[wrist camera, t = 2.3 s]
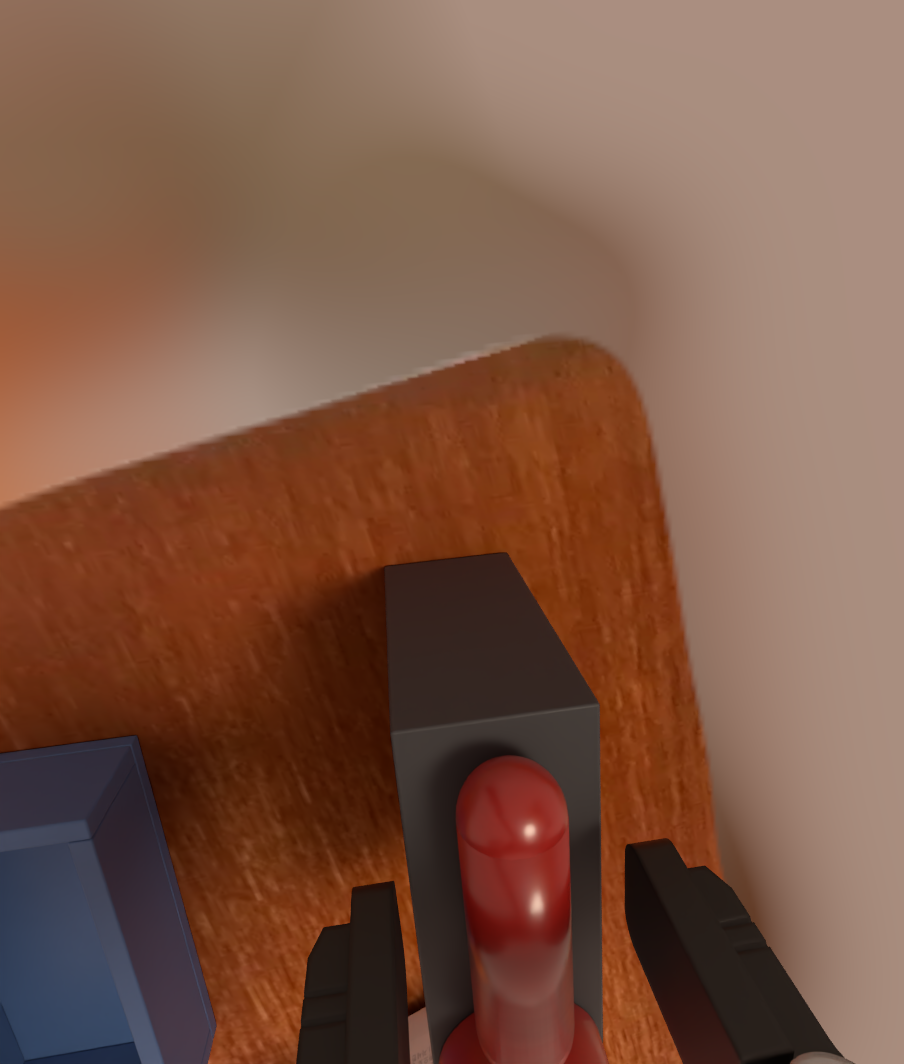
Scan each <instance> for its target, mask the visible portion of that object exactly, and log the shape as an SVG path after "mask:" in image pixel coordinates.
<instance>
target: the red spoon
mask: <svg viewBox="0 0 904 1064" xmlns="http://www.w3.org/2000/svg"><path fill="white" fill-rule="evenodd" d="M456 829H457V839H458V849H459V859H460V870H461V880H462V890H463V901H464V911H465V921H466V931H467V942H468V952H469V962H470V973H471V983H472V993H473V1003H474V1012H473V1013H472V1014H471V1015H469V1016H468V1017H466V1018H465V1019H464V1020H463V1021H462V1022H461V1023H459V1024H458V1025H457V1027H456V1028H455V1029H454V1030H453V1031H452V1032H451V1034H450V1035H449V1037H448V1038H447V1040H446V1042H445V1044H444V1046H443V1048H442V1051H441V1054H440V1059H439V1064H609V1062H608V1059H607V1056H606V1053H605V1050H604V1046H603V1043H602V1040H601V1037H600V1034H599V1031H598V1028H597V1026H596V1024H595V1022H594V1021H593V1019H592V1018H591V1017H590V1015H589V1014H588V1013H587V1012H586V1011H585V1010H584V1009H583V1008H581V1007H580V1006H578V1005H577V1004H575V1003H574V985H573V951H572V917H571V883H570V849H569V816H568V809H567V803H566V800H565V797H564V794H563V792H562V789H561V787H560V786H559V784H558V782H557V781H556V780H555V778H554V777H553V776H552V775H551V773H550V772H549V771H548V770H546V769H545V768H544V767H542V766H541V765H540V764H538V763H537V762H535V761H533V760H531V759H528V758H525V757H521V756H515V755H504V756H499V757H495V758H492V759H489V760H487V761H485V762H483V763H481V764H480V765H479V766H478V767H476V768H475V769H474V770H473V771H472V772H471V773H470V774H469V776H468V777H467V778H466V780H465V782H464V784H463V785H462V787H461V789H460V792H459V796H458V799H457V804H456Z"/></svg>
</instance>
